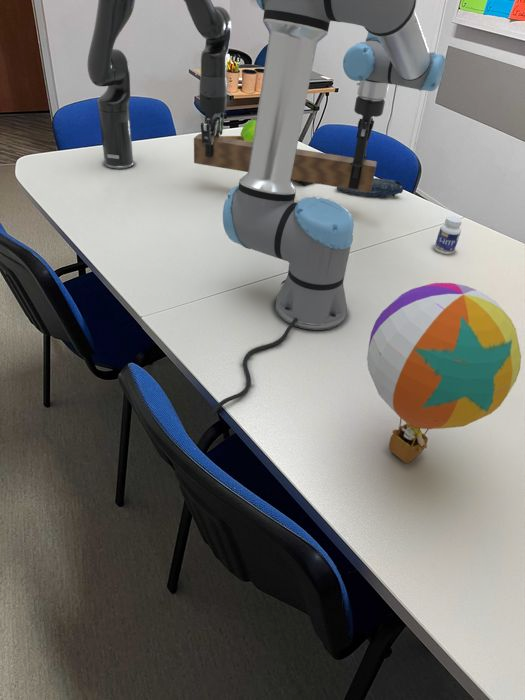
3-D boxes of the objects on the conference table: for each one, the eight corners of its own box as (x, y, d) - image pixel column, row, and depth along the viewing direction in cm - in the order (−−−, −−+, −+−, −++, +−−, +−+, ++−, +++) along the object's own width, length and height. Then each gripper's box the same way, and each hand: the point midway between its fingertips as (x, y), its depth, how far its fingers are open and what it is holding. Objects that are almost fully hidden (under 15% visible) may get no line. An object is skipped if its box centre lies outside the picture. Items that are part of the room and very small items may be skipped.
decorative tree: (206, 116, 188) (287, 116, 194) (207, 146, 195) (285, 145, 200) (212, 130, 175) (298, 130, 180) (212, 162, 181) (296, 160, 186)
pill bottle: (433, 251, 139) (442, 220, 133) (435, 243, 143) (444, 213, 137) (453, 256, 138) (464, 225, 132) (454, 247, 142) (465, 217, 136)
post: (371, 186, 151) (377, 161, 147) (370, 192, 148) (375, 166, 143) (199, 158, 160) (199, 133, 155) (194, 163, 156) (193, 137, 151)
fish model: (402, 201, 164) (405, 185, 161) (336, 194, 165) (338, 178, 162) (400, 193, 170) (403, 178, 167) (335, 186, 171) (338, 171, 168)
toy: (317, 443, 83) (351, 282, 64) (393, 393, 94) (441, 242, 75) (417, 530, 72) (494, 366, 53) (490, 462, 83) (575, 305, 64)
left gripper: (209, 85, 151) (208, 145, 161) (191, 96, 140) (191, 159, 150) (233, 89, 150) (231, 149, 160) (217, 100, 139) (216, 163, 149)
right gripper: (360, 88, 143) (345, 172, 157) (352, 103, 129) (337, 193, 144) (387, 92, 142) (370, 176, 156) (382, 107, 128) (364, 198, 143)
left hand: (212, 153), depth 155 cm, fingers closed on post, 5 cm apart
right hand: (354, 184), depth 150 cm, fingers closed on post, 5 cm apart
